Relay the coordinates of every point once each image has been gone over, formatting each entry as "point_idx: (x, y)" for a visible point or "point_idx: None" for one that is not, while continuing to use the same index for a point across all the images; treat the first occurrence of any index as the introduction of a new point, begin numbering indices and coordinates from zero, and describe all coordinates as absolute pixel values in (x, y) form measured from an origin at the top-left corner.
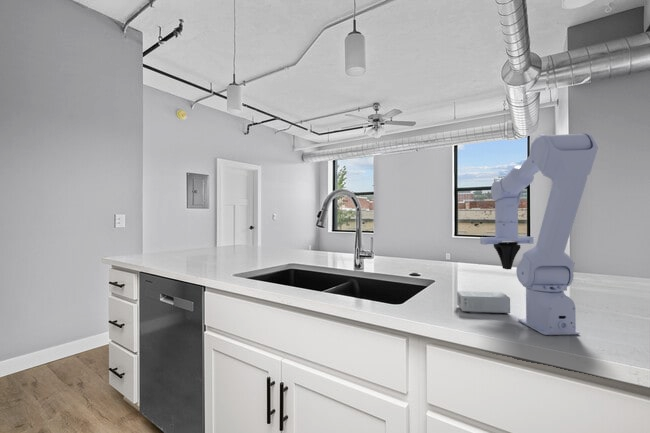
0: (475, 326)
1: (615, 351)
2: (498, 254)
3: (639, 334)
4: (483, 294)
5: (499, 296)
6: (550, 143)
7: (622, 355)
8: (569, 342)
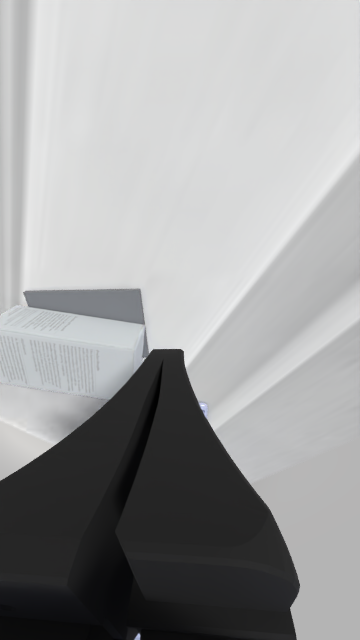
0: (48, 415)
1: None
2: (90, 420)
3: (306, 455)
4: (63, 372)
5: (105, 393)
6: None
7: None
8: None
